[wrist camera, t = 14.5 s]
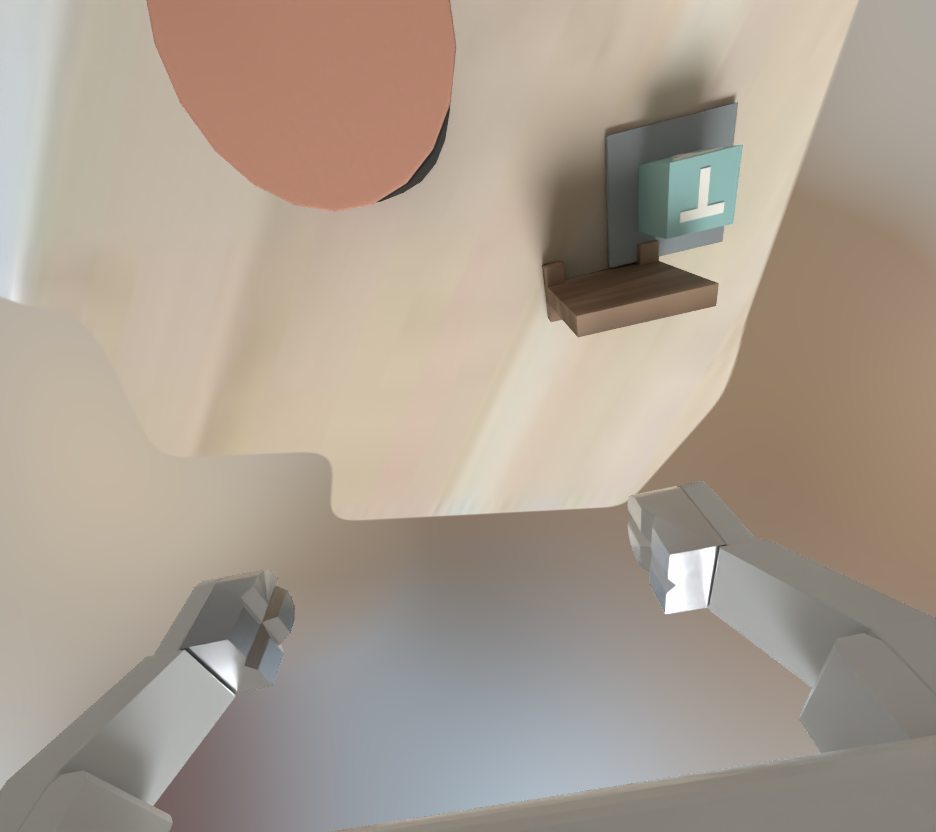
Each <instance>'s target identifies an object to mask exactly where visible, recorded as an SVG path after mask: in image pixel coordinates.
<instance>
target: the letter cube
mask: <svg viewBox="0 0 936 832" xmlns="http://www.w3.org/2000/svg"><path fill="white" fill-rule="evenodd" d="M742 147H743V145H737V146H728V147H719V148H710V149H701V150H697V151H693V152H689V153H685V154H679V155H675V156H672V157H669V158H665V159H661V160H657V161H653V162H649V163H645V164H641V165H639V205H638V232H641V233H645V234H649V235H653V236H656V237H660V238H664V239H670V238H674V237H678V236H682V235H686V234H690V233H695V232H699V231H703V230H707V229H711V228H716V227H720V226H724V225H728V224H732V223H733V220H734V212H735V204H736V196H737V188H738V179H739V171H740V163H741V155H742Z"/></svg>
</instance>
